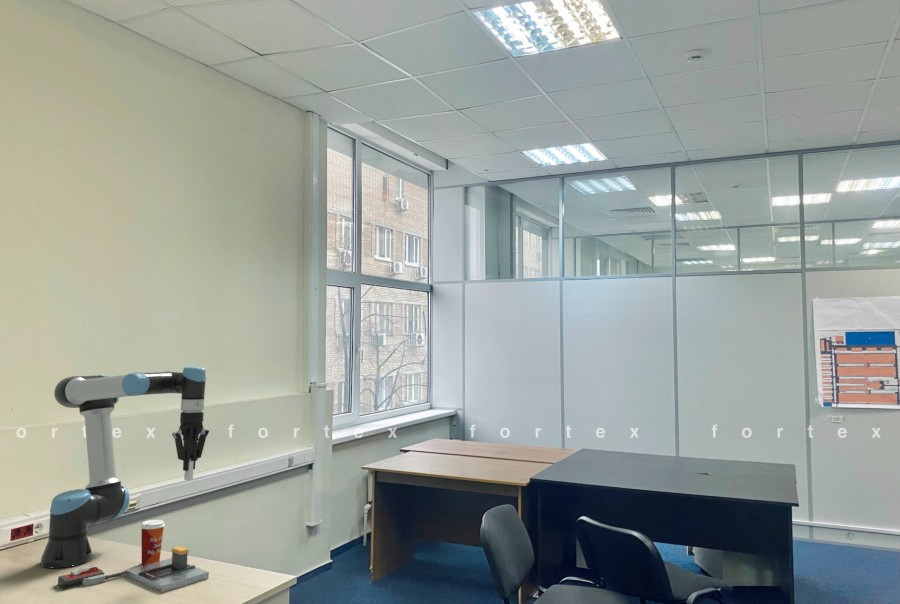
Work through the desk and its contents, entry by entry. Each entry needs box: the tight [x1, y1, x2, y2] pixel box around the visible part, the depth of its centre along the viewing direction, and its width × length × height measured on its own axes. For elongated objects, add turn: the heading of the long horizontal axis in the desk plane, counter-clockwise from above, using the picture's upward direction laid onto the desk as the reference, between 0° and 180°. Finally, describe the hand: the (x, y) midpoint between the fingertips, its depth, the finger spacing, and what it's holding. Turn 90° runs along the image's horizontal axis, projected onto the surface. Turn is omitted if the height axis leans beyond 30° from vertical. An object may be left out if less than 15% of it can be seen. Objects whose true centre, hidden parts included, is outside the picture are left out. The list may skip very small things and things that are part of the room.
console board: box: [124, 557, 210, 594], centre depth 203 cm, size 22×16×3 cm
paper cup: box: [140, 519, 166, 566], centre depth 217 cm, size 8×8×14 cm
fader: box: [171, 545, 189, 569], centre depth 207 cm, size 5×3×6 cm, turn 55°
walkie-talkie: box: [57, 565, 125, 590], centre depth 200 cm, size 9×4×20 cm
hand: (188, 479), depth 216 cm, fingers closed
